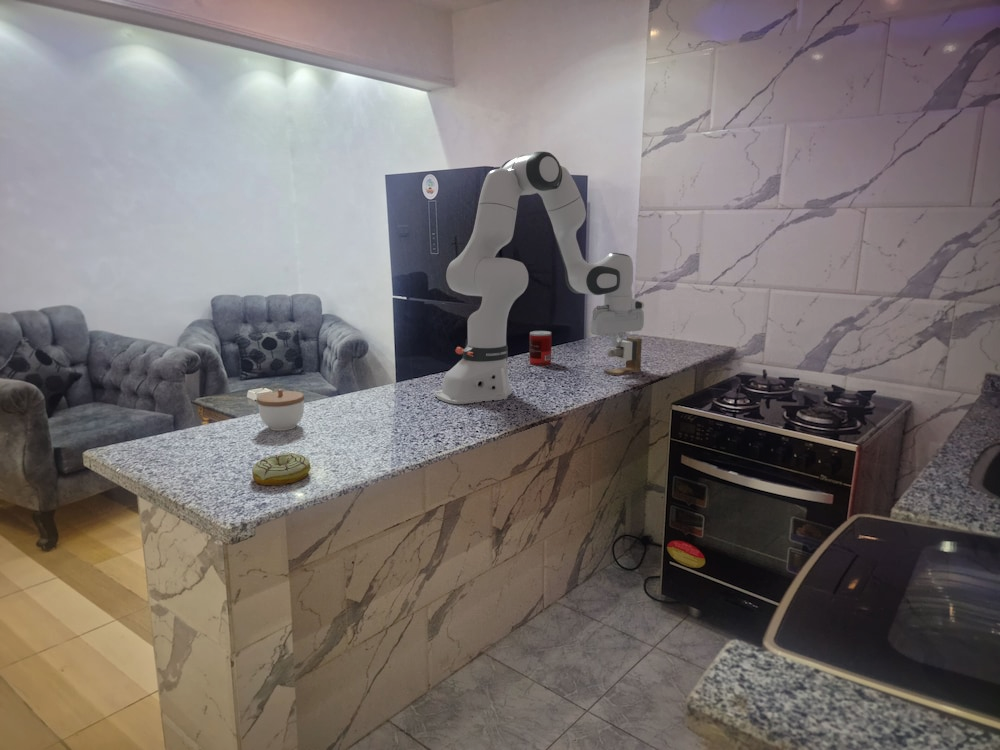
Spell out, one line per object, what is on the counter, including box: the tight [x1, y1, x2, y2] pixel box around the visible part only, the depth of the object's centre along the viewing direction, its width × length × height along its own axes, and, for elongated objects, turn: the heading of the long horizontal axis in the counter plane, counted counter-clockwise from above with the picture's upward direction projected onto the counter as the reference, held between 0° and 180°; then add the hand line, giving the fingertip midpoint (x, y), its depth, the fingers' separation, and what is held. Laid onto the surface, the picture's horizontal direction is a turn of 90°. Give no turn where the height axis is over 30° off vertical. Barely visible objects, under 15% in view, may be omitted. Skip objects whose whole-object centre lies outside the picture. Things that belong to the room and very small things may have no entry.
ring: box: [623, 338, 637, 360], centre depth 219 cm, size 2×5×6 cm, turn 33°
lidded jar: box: [256, 388, 305, 432], centre depth 160 cm, size 11×11×9 cm
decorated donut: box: [251, 452, 311, 487], centre depth 129 cm, size 10×11×4 cm
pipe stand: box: [603, 336, 643, 376], centre depth 218 cm, size 12×5×11 cm, turn 123°
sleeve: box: [613, 339, 632, 362], centre depth 218 cm, size 3×5×6 cm, turn 33°
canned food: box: [529, 330, 553, 366], centre depth 233 cm, size 8×8×11 cm
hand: (616, 346), depth 216 cm, fingers closed
